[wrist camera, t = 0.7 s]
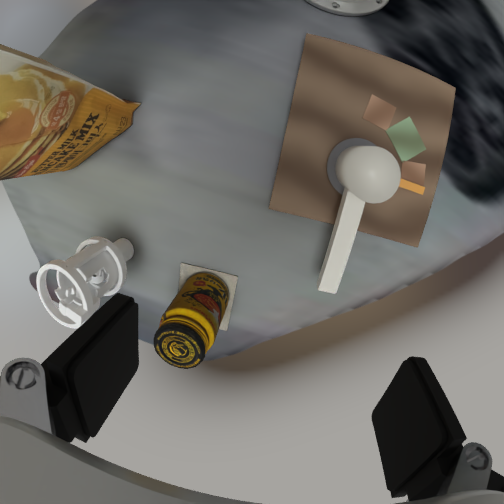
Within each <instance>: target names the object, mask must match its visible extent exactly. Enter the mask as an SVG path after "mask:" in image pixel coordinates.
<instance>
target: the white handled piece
mask: <svg viewBox="0 0 504 504" xmlns="http://www.w3.org/2000/svg"><path fill="white" fill-rule="evenodd" d="M327 174H328V178H329V180H330V182H331V184H332V186H333V187H334V188H335V189H336V190H337V191H338V192H339V193H340V194H342V199H341V203H340V207H339V210H338V214H337V217H336V221H335V224H334V228H333V231H332V235H331V238H330V242H329V245H328V248H327V252H326V255H325V258H324V261H323V265H322V268H321V271H320V274H319V277H318V280H317V286H318V290H320V291H324V292H329V293H334V294H336V292H337V289H338V287H339V284H340V281H341V278H342V275H343V272H344V269H345V267H346V264H347V261H348V258H349V254H350V251H351V248H352V245H353V242H354V239H355V236H356V232H357V229H358V226H359V223H360V219H361V216H362V212H363V209H364V205H365V202H367V203H381V202H384V201H386V200H388V199H389V198H391V197H392V196H393V195H394V194H395V192H396V191H397V189H398V187H402V188H405V189H408V190H410V191H413V192H416V193H419V194H421V195H423V193H424V190H425V187H423V186H420V185H418V184H415V183H412V182H410V181H407V180H404V179H401V172H400V167H399V164H398V162H397V160H396V159H395V157H394V156H393V155H392V154H391V153H390V152H389V151H387V150H386V149H384V148H381V147H377V146H376V145H375V144H373V143H372V142H370V141H368V140H365V139H362V138H351V139H347V140H344V141H342V142H340V143H339V144H337V145H336V146H335V147H334V148H333V150H332V151H331V153H330V155H329V157H328V161H327Z"/></svg>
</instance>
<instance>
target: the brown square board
mask: <svg viewBox="0 0 504 504" xmlns="http://www.w3.org/2000/svg"><path fill="white" fill-rule="evenodd" d="M454 96H455V87H453V86H451V85H449V84H447V83H445V82H443V81H441V80H439V79H437V78H435V77H433V76H431V75H429V74H427V73H425V72H422V71H420V70H418V69H416V68H413V67H411V66H409V65H406V64H404V63H402V62H399V61H397V60H394V59H391V58H389V57H386V56H383V55H381V54H378V53H375V52H372V51H369V50H366V49H363V48H360V47H357V46H353V45H350V44H347V43H343V42H340V41H336V40H332V39H328V38H325V37H320V36H316V35H312V34H306V38H305V43H304V48H303V53H302V57H301V62H300V67H299V71H298V76H297V81H296V85H295V90H294V95H293V99H292V104H291V109H290V113H289V118H288V123H287V127H286V132H285V136H284V141H283V146H282V150H281V155H280V159H279V164H278V168H277V173H276V178H275V182H274V187H273V191H272V196H271V200H270V205H269V209H272V210H276V211H280V212H285V213H289V214H293V215H297V216H302V217H306V218H310V219H314V220H318V221H322V222H326V223H330V224H335V221H336V217H337V214H338V210H339V207H340V203H341V199H342V194H340V193H339V192H338V191H337V190H336V189H335V188H334V187H333V186H332V184H331V182H330V180H329V178H328V174H327V161H328V157H329V155H330V153H331V151H332V150H333V148H334V147H335V146H336V145H337V144H339V143H340V142H342V141H344V140H347V139H351V138H362V139H365V140H368V141H370V142H372V143H373V144H375V145H376V146H377V147H381V148H384V149H386V150H387V151H389V152H390V153H391V154H392V155H393V156H394V157H395V159H396V160H397V162H398V164H399V167H400V172H401V179H404V180H407V181H410V182H412V183H415V184H418V185H420V186H423V187H425V190H424V193H423V195H421V194H419V193H416V192H413V191H410V190H408V189H405V188H402V187H398V189H397V191H396V192H395V194H394V195H393V196H392V197H391V198H389V199H388V200H386V201H384V202H381V203H367V202H365V205H364V209H363V212H362V216H361V219H360V223H359V226H358V229H357V231H360V232H364V233H368V234H372V235H375V236H379V237H382V238H386V239H390V240H393V241H397V242H400V243H404V244H407V245H411V246H414V247H417V248H418V245H419V242H420V239H421V236H422V233H423V230H424V227H425V224H426V221H427V218H428V215H429V211H430V208H431V205H432V201H433V198H434V194H435V191H436V187H437V183H438V179H439V175H440V171H441V167H442V163H443V158H444V154H445V149H446V144H447V139H448V134H449V129H450V123H451V117H452V110H453V103H454Z"/></svg>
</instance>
